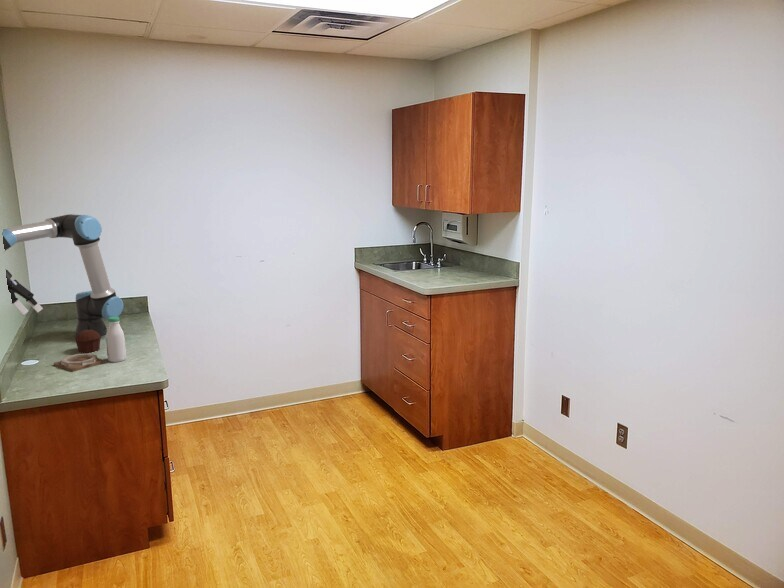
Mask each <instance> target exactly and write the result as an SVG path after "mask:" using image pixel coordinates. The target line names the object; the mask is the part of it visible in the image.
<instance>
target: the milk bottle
mask: <svg viewBox="0 0 784 588" xmlns="http://www.w3.org/2000/svg"><path fill="white" fill-rule="evenodd" d="M107 320H108V322H107V323H108V328H107V333H106V334H105V341H106V342H105V343H106V351H107V352H106V354H107V360H108V362H110V363H119V362H123V361H125V360H126V359H127V349H126V339H125V334H124V333H125V332H124V331H123V329H122V327H121V325H120V317H119V316H118V317H109V318H108V319H107Z"/></svg>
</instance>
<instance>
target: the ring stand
mask: <svg viewBox="0 0 784 588" xmlns="http://www.w3.org/2000/svg"><path fill="white" fill-rule="evenodd" d="M102 363H103V364H106V360H104V359H102V358H98V355H96V354H93V353H76V354H72V355H71V354H70V355H67V356H64V357H63V358H62V359H61V360H60V361H55V362H53V366H54V365H55V366H54V367H57V366H58V367H57V368H60V367H61V369H63V370H66V371H69V372H77V371H80V370H84V369H88V368H91V367H96V366H99V365H103V364H102Z"/></svg>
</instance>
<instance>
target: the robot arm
mask: <svg viewBox="0 0 784 588" xmlns="http://www.w3.org/2000/svg"><path fill="white" fill-rule="evenodd" d="M6 228H7V229H3V232H2V235H3V244H4V249H5V251H4V252H6V251H7V250H9V249H10V248H12V247H13V246H14V245H16V244H18V243H23V242H29V241H34V240H35V241H36V240H39V239H45V238H49V239H57V238H67V239H72V241H73V244H74V246H75V247H77V248H78V249H79V253H80V256H81V258H82V262H83V265H84V268H85V272H86V275H87V278H88V282H89V285H90V288H91V290H87V291H82V292H77V293H76V294H75V307H76V316H77V317H76V318H77V323H76V326H75V327H76V328H75V330H74V335H75V337H76V336H77V335H78V334H79V333H80V332H81V331H83V330H94V331H96V332H98V333H99V334H100V335H101V337H102V335H103V336H106V333H107V330H108V328H107V326H106V324H105V322H104V320H103V319H105V320H108V318H109V317H119V316H121V314H122V312H123V310H124V301H123V300H122V298H120V297H119V296H117V294H116V291H115V289H114V288H111V285H110V281H109V279H108V275H107V270H106V267H105V263H104V260H103V257H102V253H101V250H100V246H99V242H100V240H101V239H100V237H101V233H102V229H103V228H102V224H101V223H100V221H99V220H98V218H95V217H94V216H92V215H88V214H72V213H71V214H69V213H68V214H64V215H59V216H54V217H49V218H46V219H45V220H44V221H39V222H34V223H28V224H27V223H26V224H22V225H15V226H10V227H6ZM5 270H6V278H7V285H8V290H9V292H10V293H11V299H12V303H11V304H12V305H13V306H14V307H15V308H16V309H17V310H18V311H19V312H20V314H21V315H23V316H24V315H26V314H27V313H28V312H29V309H28V308H26V306H25V305H24V304H23V303H22V302H21V301H20V300H19V298H18V297H17V296H16V295H15V294H17V295H19V296H20V297H21V298H23V299H24V300H25V301H26V303H28V304H29V305H30V307H32V309H33V310H35V312H36V313H39V312H41V311H42V310H43V309H44V307H42V305H41V304H40V303H39V302H38V301H37V300H36V299H35V298H34V296H35V294H34V293H33V292H31V291H30V290H29V289H28V288H27V287H25V286H24V285H22V284H21V283H20V282H19V281H18V280H17V279H14V280H12V279H11V278H12V277H13V274H12V273H11V272H10V271H9V270H8V269H5Z"/></svg>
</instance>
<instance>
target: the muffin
mask: <svg viewBox="0 0 784 588" xmlns="http://www.w3.org/2000/svg"><path fill="white" fill-rule="evenodd" d="M101 337H102V336H101V335H100V334H99V333H98V332H96V331H94V330H83V331H81V332H80V333H79V334H78V335H77V336H75V337H74V340H75V344H76V347H77V350H78V353H80V352H81V353H80V354H89V353H90V354H93V353H92V352H94V353H96V352H95V351H97V352H99V351H100V349H101V348H100V346H101Z"/></svg>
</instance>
